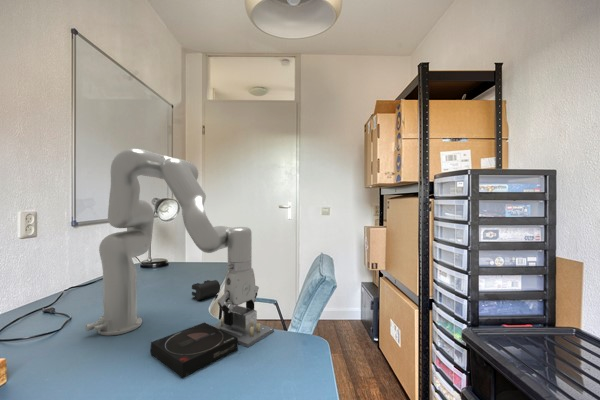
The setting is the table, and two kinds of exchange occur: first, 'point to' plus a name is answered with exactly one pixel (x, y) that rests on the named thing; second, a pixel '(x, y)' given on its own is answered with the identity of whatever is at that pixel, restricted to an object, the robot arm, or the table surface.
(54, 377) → the table surface
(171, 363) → the portable cd player
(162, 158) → the robot arm
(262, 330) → the grey pegged fixture plate
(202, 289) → the end cap
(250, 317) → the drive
